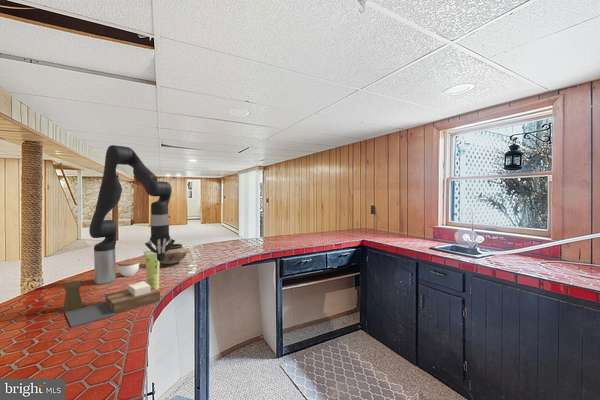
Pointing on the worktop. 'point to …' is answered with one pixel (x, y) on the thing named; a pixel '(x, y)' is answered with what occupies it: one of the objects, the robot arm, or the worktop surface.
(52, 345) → the worktop surface
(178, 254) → the ceramic bowl
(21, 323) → the worktop surface
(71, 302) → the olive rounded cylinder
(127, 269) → the lidded jar
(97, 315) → the charcoal mat
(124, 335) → the worktop surface
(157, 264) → the tube
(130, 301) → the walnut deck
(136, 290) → the ivory card box
